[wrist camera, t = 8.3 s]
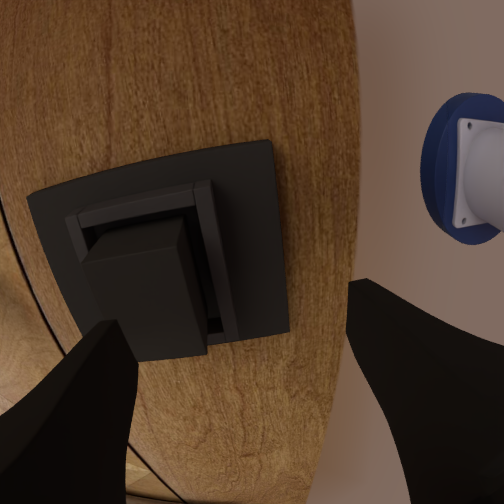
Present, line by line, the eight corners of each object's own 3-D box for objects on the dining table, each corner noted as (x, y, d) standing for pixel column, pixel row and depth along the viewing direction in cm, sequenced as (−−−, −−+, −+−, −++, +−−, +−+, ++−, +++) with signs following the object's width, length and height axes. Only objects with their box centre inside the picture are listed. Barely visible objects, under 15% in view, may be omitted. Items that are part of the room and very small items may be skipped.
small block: (185, 213, 16) (176, 245, 12) (208, 308, 18) (207, 355, 15) (106, 228, 15) (79, 263, 12) (137, 317, 18) (125, 363, 14)
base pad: (268, 138, 15) (277, 144, 13) (287, 323, 21) (294, 347, 18) (33, 192, 15) (12, 205, 12) (97, 347, 20) (88, 371, 18)
